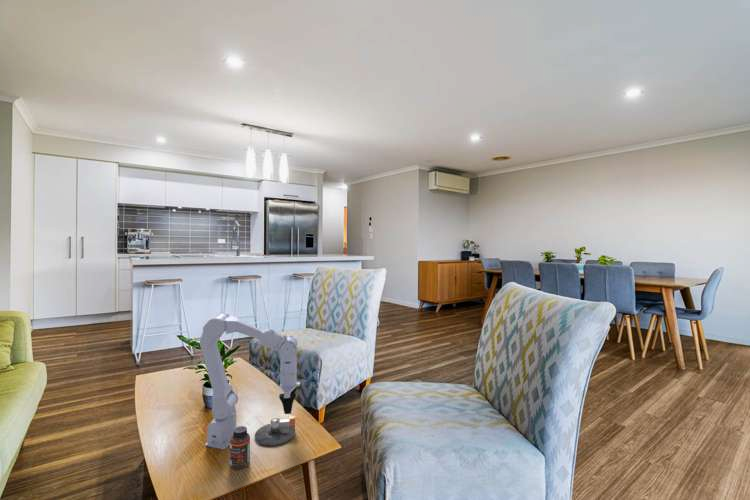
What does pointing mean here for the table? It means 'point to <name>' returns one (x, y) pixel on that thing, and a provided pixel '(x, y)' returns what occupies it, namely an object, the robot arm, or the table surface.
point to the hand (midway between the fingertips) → (288, 409)
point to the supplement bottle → (239, 448)
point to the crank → (282, 424)
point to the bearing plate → (273, 436)
